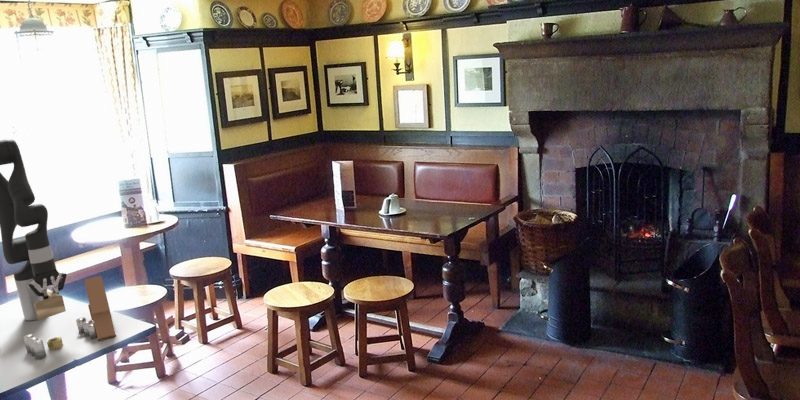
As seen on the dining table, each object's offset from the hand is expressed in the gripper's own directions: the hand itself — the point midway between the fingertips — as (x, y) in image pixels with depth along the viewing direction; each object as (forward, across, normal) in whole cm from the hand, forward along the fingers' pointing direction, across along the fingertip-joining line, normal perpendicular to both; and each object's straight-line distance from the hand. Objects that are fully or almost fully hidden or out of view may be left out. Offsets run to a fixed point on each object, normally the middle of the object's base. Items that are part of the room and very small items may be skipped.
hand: (52, 303), depth 240 cm
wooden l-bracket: (+2, +3, +1) cm, 4 cm away
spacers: (+14, +2, +6) cm, 15 cm away
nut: (+14, +4, +7) cm, 16 cm away
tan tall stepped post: (+14, -14, +4) cm, 21 cm away
